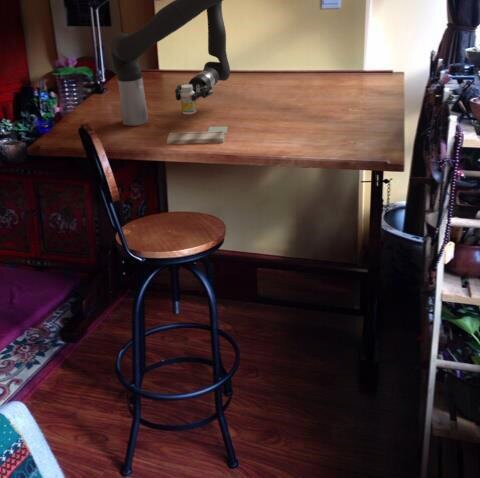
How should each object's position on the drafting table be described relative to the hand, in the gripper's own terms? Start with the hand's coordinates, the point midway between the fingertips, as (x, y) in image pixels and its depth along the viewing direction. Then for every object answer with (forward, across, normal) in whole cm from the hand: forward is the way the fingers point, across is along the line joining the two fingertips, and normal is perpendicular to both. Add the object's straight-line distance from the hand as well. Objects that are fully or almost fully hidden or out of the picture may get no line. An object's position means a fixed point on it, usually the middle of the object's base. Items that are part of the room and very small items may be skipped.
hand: (185, 98), depth 222 cm
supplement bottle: (-3, 0, +6) cm, 7 cm away
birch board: (+5, +5, +14) cm, 15 cm away
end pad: (-5, +9, +14) cm, 17 cm away
